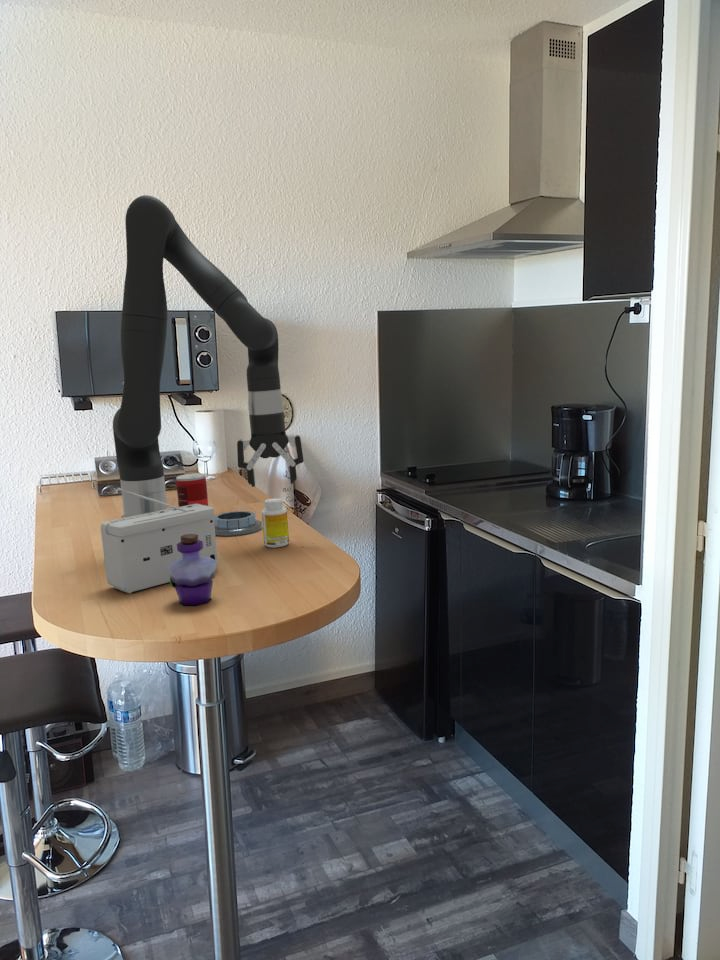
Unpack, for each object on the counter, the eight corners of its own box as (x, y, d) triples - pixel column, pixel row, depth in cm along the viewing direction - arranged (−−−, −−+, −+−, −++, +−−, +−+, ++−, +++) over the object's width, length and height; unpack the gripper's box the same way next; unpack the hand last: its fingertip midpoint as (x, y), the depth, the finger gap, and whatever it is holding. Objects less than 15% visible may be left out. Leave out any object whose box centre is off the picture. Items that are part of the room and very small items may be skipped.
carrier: (242, 538, 176) (241, 523, 176) (197, 534, 182) (196, 520, 181) (272, 525, 188) (271, 510, 187) (229, 522, 193) (228, 508, 193)
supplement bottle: (293, 545, 167) (290, 500, 166) (271, 549, 165) (267, 504, 163) (282, 540, 172) (278, 496, 170) (260, 545, 169) (256, 500, 167)
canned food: (213, 512, 207) (210, 473, 205) (201, 519, 199) (197, 478, 197) (188, 512, 208) (184, 473, 207) (174, 519, 201) (170, 478, 199)
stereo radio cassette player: (202, 563, 157) (193, 469, 153) (223, 571, 151) (214, 472, 147) (105, 588, 143) (93, 485, 140) (124, 597, 137) (112, 490, 134)
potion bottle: (170, 596, 136) (164, 532, 134) (219, 590, 138) (213, 527, 136) (169, 612, 128) (162, 543, 126) (221, 605, 130) (215, 538, 128)
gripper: (231, 415, 159) (239, 490, 162) (299, 410, 160) (305, 485, 163) (234, 412, 166) (241, 484, 169) (299, 407, 167) (305, 479, 170)
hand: (273, 484), depth 166 cm, fingers open, 8 cm apart
